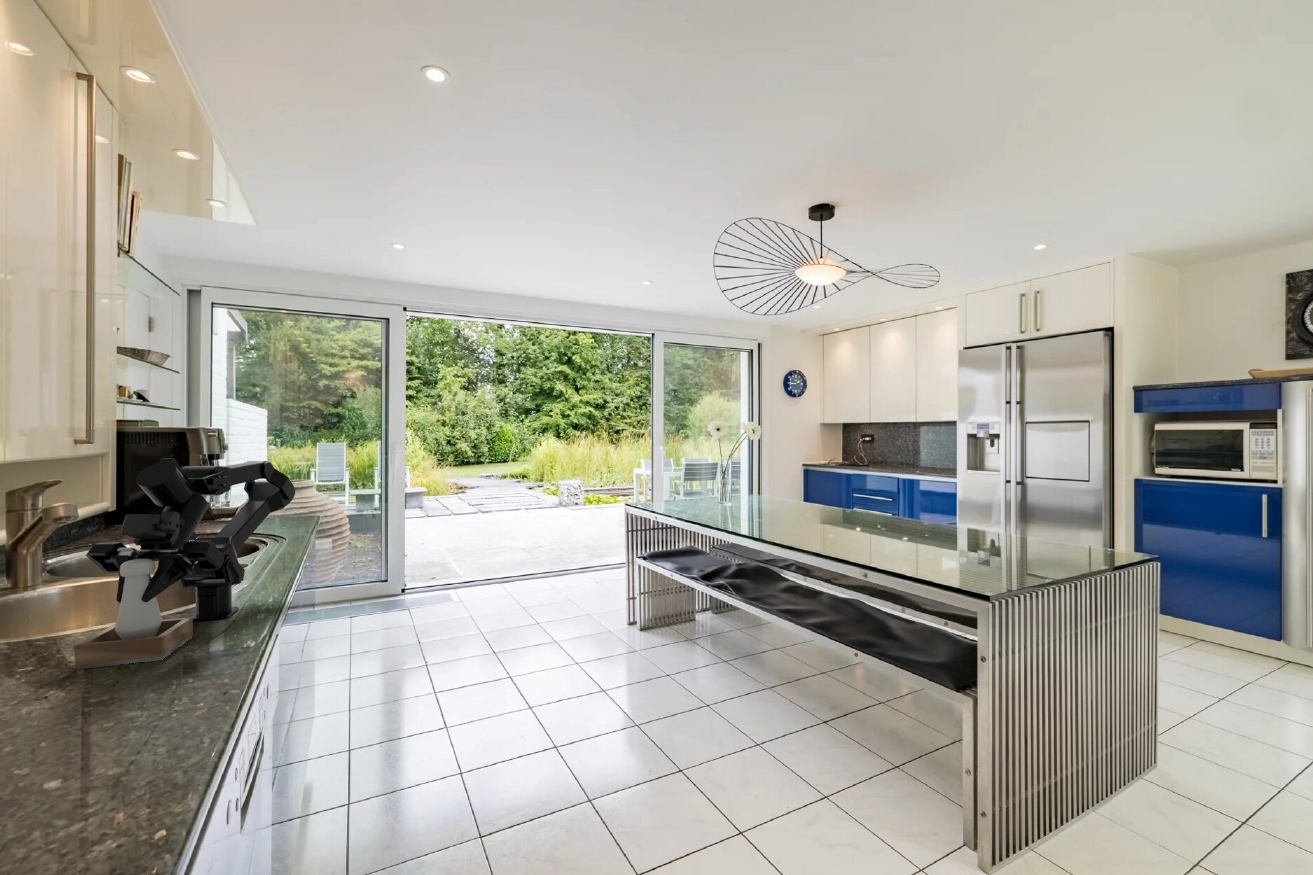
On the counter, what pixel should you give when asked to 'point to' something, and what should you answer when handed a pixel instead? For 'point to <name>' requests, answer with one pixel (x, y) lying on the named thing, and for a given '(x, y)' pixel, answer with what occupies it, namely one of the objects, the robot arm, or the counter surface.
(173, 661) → the counter surface
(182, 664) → the counter surface
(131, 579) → the salt shaker
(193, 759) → the counter surface
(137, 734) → the counter surface
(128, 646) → the shaker dock
